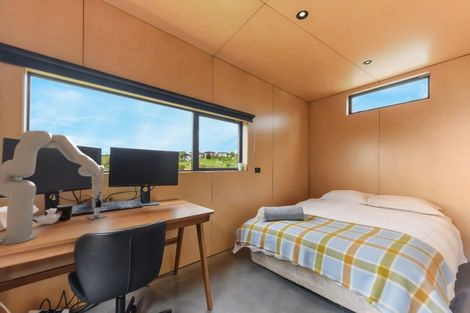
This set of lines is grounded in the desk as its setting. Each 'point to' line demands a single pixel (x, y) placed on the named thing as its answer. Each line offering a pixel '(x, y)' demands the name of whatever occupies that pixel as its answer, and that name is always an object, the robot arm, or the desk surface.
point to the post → (96, 214)
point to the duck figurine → (49, 217)
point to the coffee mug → (64, 211)
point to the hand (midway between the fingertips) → (97, 206)
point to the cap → (95, 202)
